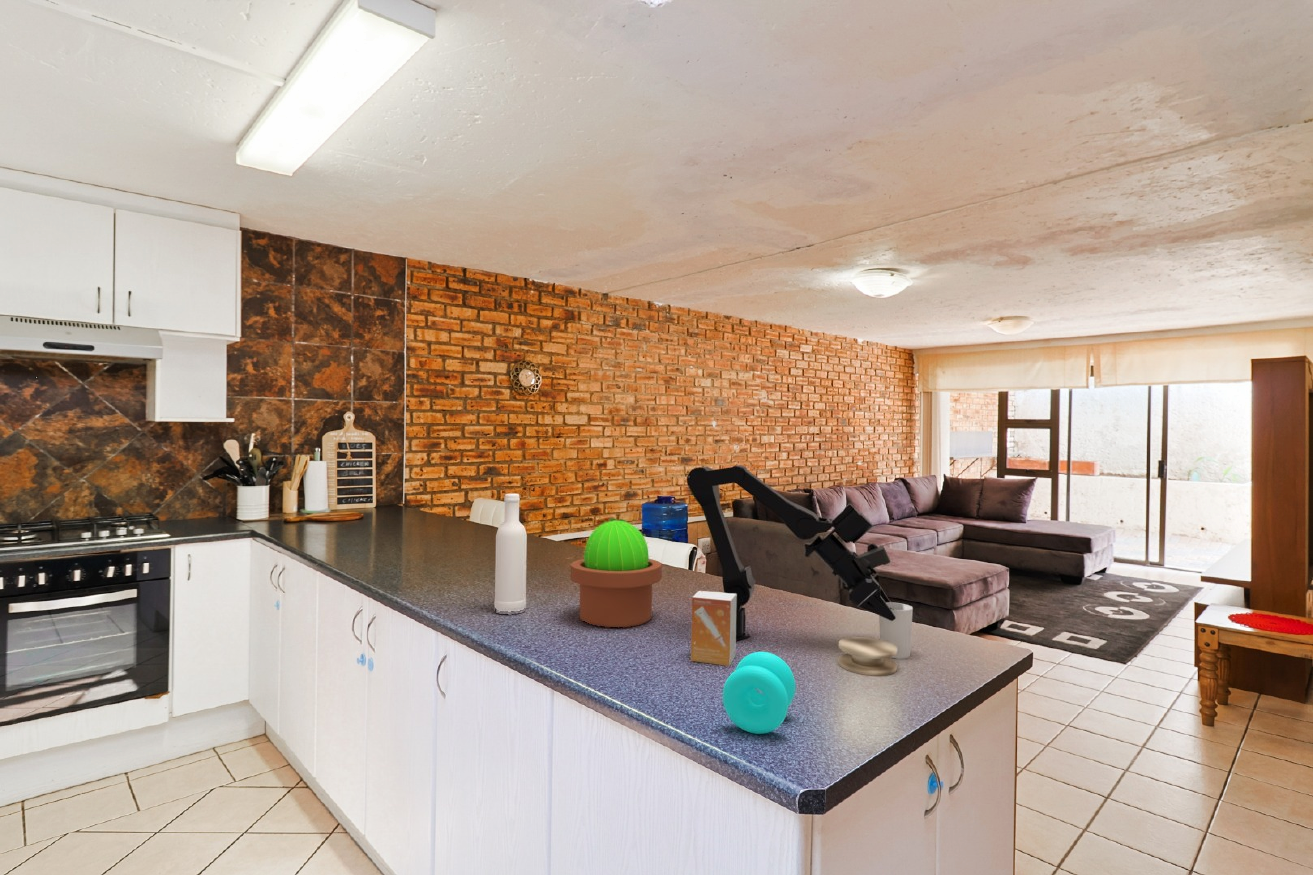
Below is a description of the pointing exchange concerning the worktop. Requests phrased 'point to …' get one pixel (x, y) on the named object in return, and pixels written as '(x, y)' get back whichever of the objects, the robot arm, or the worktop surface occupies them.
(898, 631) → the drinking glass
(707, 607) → the small box
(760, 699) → the turquoise yoyo
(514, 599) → the bottle
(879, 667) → the birch stand
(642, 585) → the potted cactus
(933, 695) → the worktop surface
